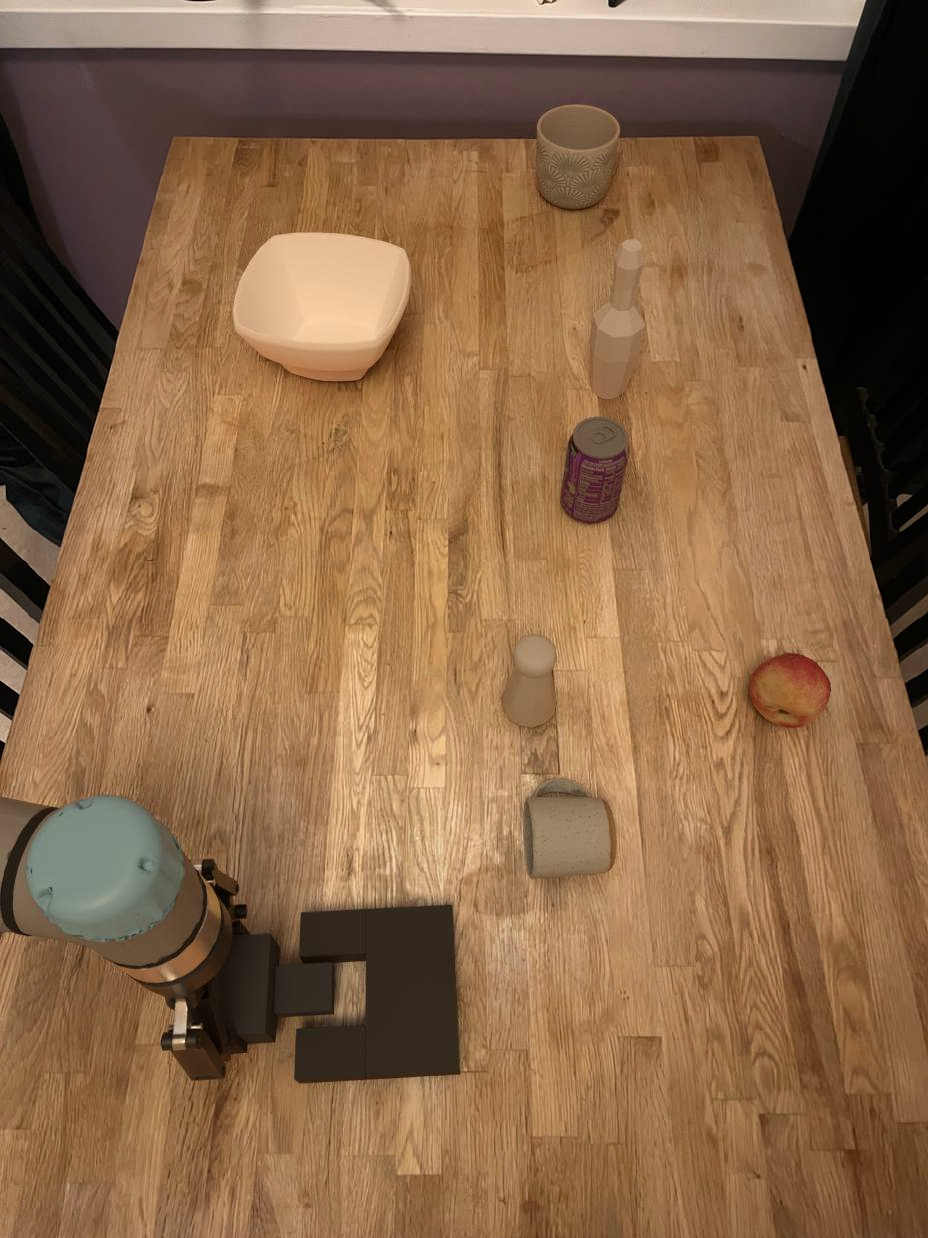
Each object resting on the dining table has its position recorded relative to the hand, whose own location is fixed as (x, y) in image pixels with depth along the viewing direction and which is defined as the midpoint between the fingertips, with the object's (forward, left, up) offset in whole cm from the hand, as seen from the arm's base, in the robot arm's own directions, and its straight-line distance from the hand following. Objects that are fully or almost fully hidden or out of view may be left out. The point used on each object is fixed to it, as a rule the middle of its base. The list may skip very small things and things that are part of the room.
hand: (235, 995), depth 84 cm
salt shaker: (+28, +28, -3) cm, 40 cm away
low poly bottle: (+43, +76, -3) cm, 88 cm away
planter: (+43, +119, -3) cm, 127 cm away
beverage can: (+38, +56, -3) cm, 68 cm away
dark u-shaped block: (+12, 0, -3) cm, 13 cm away
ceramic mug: (+30, +14, -3) cm, 34 cm away
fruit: (+55, +27, -3) cm, 62 cm away
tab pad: (+3, 0, 0) cm, 3 cm away
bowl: (+6, +84, -3) cm, 84 cm away
